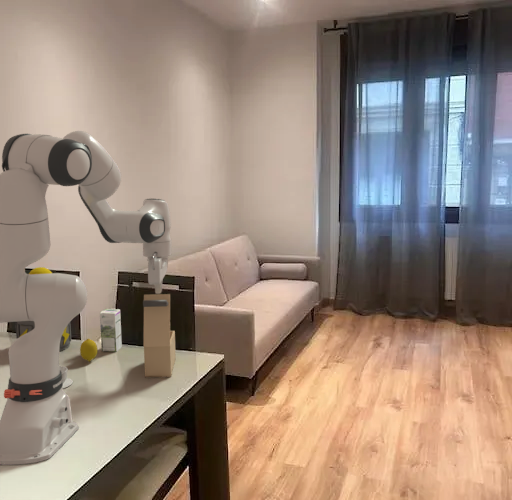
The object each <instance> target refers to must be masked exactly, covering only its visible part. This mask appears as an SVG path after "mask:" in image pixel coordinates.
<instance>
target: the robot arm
mask: <svg viewBox="0 0 512 500" xmlns="http://www.w3.org/2000/svg"><path fill="white" fill-rule="evenodd" d="M1 161H2V163H1V168H2V171H3V172H1V173H0V323H1V324H2V323H16V322H18V321H34V322H35V328H34V329H33V330H32V331H30V332H28V333H26V334H24V335H22V336H21V337H19V338H18V339H17V338H16V339H15V340H14V341H13V342H12V343H11V344H10V346H9V349H8V364H9V378H8V384H7V388H5V389H4V391H3V398H4V399H6V402H5V405H4V407H3V411H2V414H1V417H0V465H2V466H3V465H7V466H8V465H27V464H33V463H38V462H43V461H46V460H49V459H50V458H51V457H53V456H54V454H55V453H56V452H58V450H59V449H60V448H61V447H62V446H64V444H65V443H66V442H67V441H68V440H69V439H70V438H71V437H72V436H73V435H74V434H75V433H76V432H77V431H78V430H79V428H80V427H79V423H78V422H75V421H73V416H72V408H71V400H70V396H69V395H68V394H67V393H66V392H65V390H64V388H63V389H62V386H63V382H62V381H63V377H62V372H61V371H60V366H61V365H60V352H59V348H60V340H61V337H62V334H63V332H64V330H65V328H66V326H67V325H68V324H69V322H70V323H71V321H72V320H73V319H74V318H77V316H79V315H80V314H81V312H83V310H84V309H85V307H86V305H87V302H88V296H89V294H88V289H87V285H86V284H85V282H84V281H83V280H82V278H81V277H80V276H78V275H75V274H67V273H62V272H61V273H59V272H54V273H53V272H52V273H50V274H29V273H27V272H26V269H25V268H26V267H29V266H30V265H32V264H34V263H36V262H38V261H40V260H42V259H43V258H44V257H45V256H46V255H48V253H49V252H50V249H51V233H50V222H49V213H48V208H47V207H48V205H47V201H46V195H47V190H48V188H49V185H53V186H61V187H73V186H77V185H78V186H77V187H78V188H77V189H78V190H77V191H78V194H79V197H80V200H81V201H82V202H83V204H84V206H85V207H86V209H87V211H88V212H89V214H90V215H91V217H92V218H93V220H94V221H95V223H96V224H97V227H98V229H99V232H100V234H101V236H102V238H103V239H104V240H105V241H106V242H108V243H109V244H110V243H111V244H117V243H118V244H120V243H123V244H124V243H126V244H142V255H143V257H145V258H146V260H147V282H148V284H149V285H151V286H152V285H153V286H154V292H155V294H162V292H163V279H164V278H165V276H166V274H167V272H168V265H169V257H170V256H172V238H171V235H170V234H171V226H172V223H171V212H170V206H169V203H168V201H166V200H165V199H162V198H161V199H160V198H145V199H143V203H142V206H141V207H140V208H139V209H137V210H119V209H115V208H113V207H112V206H111V205H110V203H109V202H108V199H109V198H111V197H112V196H113V195H114V194H115V193H117V191H118V189H119V187H120V186H121V182H122V172H121V170H120V167H119V166H118V163H117V162H116V161H115V160H114V158H113V157H112V155H110V153H109V152H108V151H107V149H106V148H105V147H104V146H103V145H102V144H101V143H100V142H99V141H98V140H97V139H96V138H95V137H94V136H93V135H91V134H90V133H89V132H86V131H84V130H75V131H71V132H69V133H67V134H66V135H65V136H64V137H57V136H53V135H49V134H36V133H35V134H33V133H32V134H31V133H21V134H16V135H13V136H11V137H10V138H9V139H7V141H6V142H5V144H4V146H3V149H2V155H1Z"/></svg>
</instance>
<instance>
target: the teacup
mask: <svg viewBox="0 0 512 500" xmlns="http://www.w3.org/2000/svg"><path fill="white" fill-rule="evenodd" d="M59 366H60V371H61V372H62V377H63V381H62V382H63V386H62V389H63V390H64V389H65V388H67V387H69V386H71V385H72V384H73V383H74V381H73V379H71V378H69V377H68V367H67V366H62V365H59Z"/></svg>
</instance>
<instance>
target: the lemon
mask: <svg viewBox="0 0 512 500" xmlns="http://www.w3.org/2000/svg"><path fill="white" fill-rule="evenodd" d="M79 349H80V350H79V352H80V356H81V358H82V359H83V360H85V361H87V362H91V361H92V360H94V359H95V358H96V357H97V355H98V345H97V343H96V342H95V341H94V340H93V339H90V338H86V339H85V340H83V342H82V343H81V344H80V347H79Z"/></svg>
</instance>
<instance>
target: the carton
mask: <svg viewBox="0 0 512 500" xmlns="http://www.w3.org/2000/svg"><path fill="white" fill-rule="evenodd" d="M143 355H144V359H143V361H144V363H143V364H144V379H152V378H154V379H155V378H172V375H173V372H174V371H173V370H174V367H175V363H176V332H175V330H170V346H158V347H144V346H143Z"/></svg>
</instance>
